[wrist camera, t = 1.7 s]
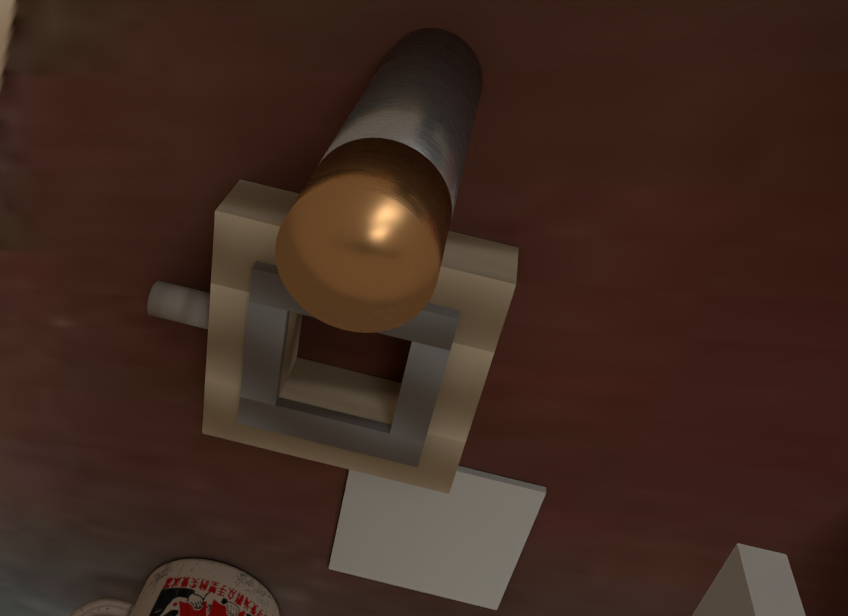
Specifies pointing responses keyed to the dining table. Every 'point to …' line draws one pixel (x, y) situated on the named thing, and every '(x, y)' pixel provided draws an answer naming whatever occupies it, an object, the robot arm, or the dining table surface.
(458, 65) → the copper capped silver cylinder
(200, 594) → the teacup with lid
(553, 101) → the dining table surface
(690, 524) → the dining table surface
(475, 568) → the mat
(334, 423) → the chuck block
